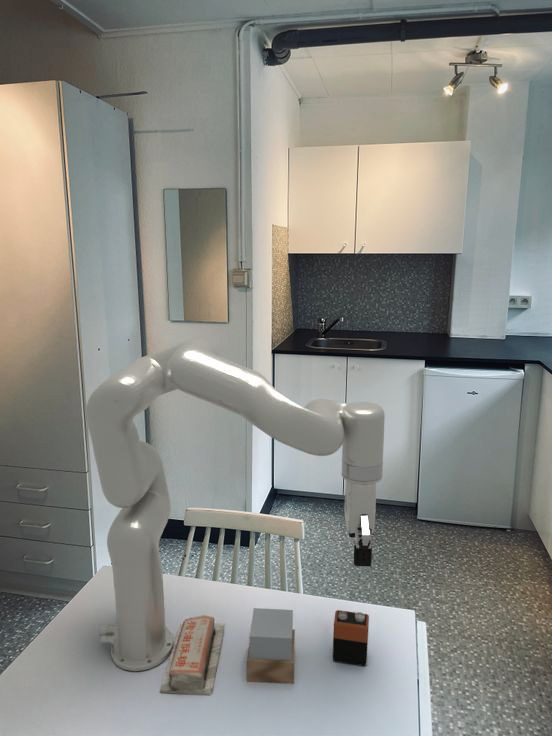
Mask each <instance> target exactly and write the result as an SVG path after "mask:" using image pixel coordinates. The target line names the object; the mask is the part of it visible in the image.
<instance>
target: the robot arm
mask: <svg viewBox="0 0 552 736" xmlns="http://www.w3.org/2000/svg"><path fill="white" fill-rule="evenodd" d="M176 390H178V391H179V392H183V393H184V394H188V395H190V396H192V397H195V398H197V399H200V400H201V401H205V402H208V403H211V404H213V405H214V406H217V407H219V408H222V409H224V410H227V411H229V412H231V413H234V414H237V415H238V416H241V417H242V418H243V419H244V420H246V421H248V422H249V423H250V424H251V425H252V426H254V427H255V428H257V429H259V430H260V431H261V432H263V433H264V434H266V435H268V436H269V437H270V438H272V439H274V440H275V441H277V442H279V443H281V444H283V445H286V446H289V447H290V448H293V449H295V450H298V451H300V452H303V453H305V454H309V455H312V456H315V457H316V456H317V457H326V456H327V457H328V456H331V455H333V454H335V453H336V452H337V451H338V450H339V449H340V448H341V447H342V448H341V450H342V451H341V457H342V458H341V477H342V479H343V480H345V493H344V494H345V495H344V507H343V508H344V509H343V510H344V511H343V512H344V518H345V519H344V520H345V526H346V530H347V532H348V535H349V538H355V545H353V565H354V567H371V566H372V560H373V559H372V557H373V555H372V554H373V546H372V534H373V533H374V532H375V526H376V511H377V509H376V506H377V504H376V502H377V483H379V482H380V481H382V479H383V468H384V442H385V441H384V439H385V420H386V419H385V410H384V409H383V407H382V406H380V405H379V404H378V403H374V402H367V401H356V402H344V401H337V400H331V399H325V398H318V399H314V400H311V401H309V402H308V403H307V404H305V406H303V405H300V404H298V403H296V402H294V401H292V400H291V399H289V398H287V397H286V396H285V395H283V394H282V393H280V392H279V391H278V390H277V389H276V388H275V387H274V386H273V385H272V384H271V382H270V381H269V380H268V379H267V378H266V377H265V376H264V375H262V373H260V372H259V371H257V370H254V369H251V368H249V367H247V366H244V365H241V364H239V363H236V362H235V361H232V360H229V359H227V358H225V357H222V356H220V354H219V351H218V350H217V348H216V347H215V346H214V345H213V344H212V343H210V342H209V341H207V340H204V339H200V338H195V339H193V338H192V339H189V340H187V341H183V342H181V343H179V344H176V345H174V346H171V347H167V348H164V349H163V350H159V351H156V352H154V353H151V354H148V355H145V356H141V357H139V358H137V359H135V360H133V361H131V362H130V363H128V365H126V366H124V367H123V368H121V369H120V370H118V371H117V372H116V373H114V374H113V375H111V376H110V377H108V378H107V379H106V380H105V381H103V382H102V383H101V384H100V385H98V386H97V387H96V388H95V389H94V390H93V391H92V393H91V394H90V396H89V398H88V400H87V403H86V406H85V407H86V408H85V420H86V425H87V428H88V429H87V430H88V433H89V436H90V440H91V444H92V448H93V454H94V455H93V456H94V459H95V460H94V461H95V463H96V467H97V472H98V477H99V483H100V486H101V491H102V494H103V496H104V498H105V499H106V500H107V502H108V503H109V504H110V505H112V506H113V507H116V508H121V509H120V511H118V514H117V515H116V517H114V520H113V522H112V523H111V525H110V528H109V530H108V533H107V537H106V546H107V552H108V555H109V559H110V562H111V563H110V564H111V568H112V569H111V571H112V578H113V588H114V599H115V601H114V602H115V614H116V624H115V625H114V626H113V625H112V626H111V625H100V626H99V629H98V636H101V637H100V641H99V642H100V644H111V647H110V656H111V659H112V661H113V663H114V664H115V665H116V666H117V667H119V668H120V669H122V670H126V671H130V672H139V671H147V670H149V669H152V668H155V667H157V666H158V665H160V664H162V663H163V662H165V661H166V660H167V658H169V656H171V652H172V649H173V646H174V643H175V641H174V636H173V633H172V632H171V630H170V629H169V627H166V617H165V615H166V613H165V596H164V594H165V593H164V578H163V576H164V575H163V564H162V559H161V555H160V552H159V551H160V550H159V545H160V540H161V537H162V535H163V532H164V529H165V528H166V526H167V523H168V521H169V518H170V516H171V509H172V508H171V499H170V494H169V490H168V488H169V487H168V484H167V479H166V474H165V469H164V468H165V467H164V465H163V461H162V458H161V455H160V454H159V452H158V450H157V449H156V448H155V447H154V446H153V445H151V444H150V443H148V442H146V441H142V440H140V436H139V435H140V434H139V432H138V429H137V426H136V424H135V422H134V418H135V417H137V415H139V414H141V413H142V412H144V411H145V410H147V409H148V408H149V407H150V406H152V404H153V403H154V402H155V401H156V400H157V399H158V397H160V396H162V395H165V394H168V393H170V392H174V391H176Z"/></svg>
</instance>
